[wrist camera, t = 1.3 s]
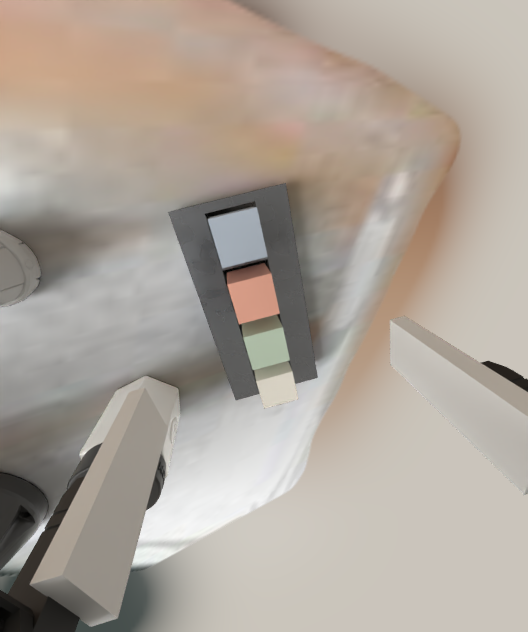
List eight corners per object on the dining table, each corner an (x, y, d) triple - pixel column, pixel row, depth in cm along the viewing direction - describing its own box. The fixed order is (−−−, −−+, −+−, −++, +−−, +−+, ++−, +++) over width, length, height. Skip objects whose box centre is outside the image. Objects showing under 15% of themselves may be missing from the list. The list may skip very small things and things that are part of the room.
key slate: (222, 258, 25) (222, 268, 21) (210, 216, 24) (207, 219, 20) (260, 248, 26) (267, 256, 21) (251, 206, 24) (256, 207, 20)
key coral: (237, 306, 28) (238, 324, 24) (226, 272, 26) (227, 284, 22) (272, 297, 28) (279, 313, 24) (264, 262, 26) (271, 273, 22)
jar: (183, 424, 37) (165, 516, 26) (123, 427, 35) (78, 526, 25) (179, 373, 33) (156, 456, 22) (112, 375, 32) (53, 464, 21)
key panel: (235, 385, 35) (235, 400, 32) (174, 211, 25) (168, 212, 23) (310, 364, 35) (317, 377, 33) (279, 185, 26) (285, 183, 23)
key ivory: (259, 383, 32) (264, 408, 28) (252, 358, 31) (256, 381, 27) (289, 374, 33) (298, 399, 28) (283, 349, 31) (292, 371, 27)
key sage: (249, 348, 30) (252, 370, 26) (240, 318, 28) (243, 337, 24) (281, 339, 30) (290, 360, 26) (274, 309, 29) (282, 327, 24)
